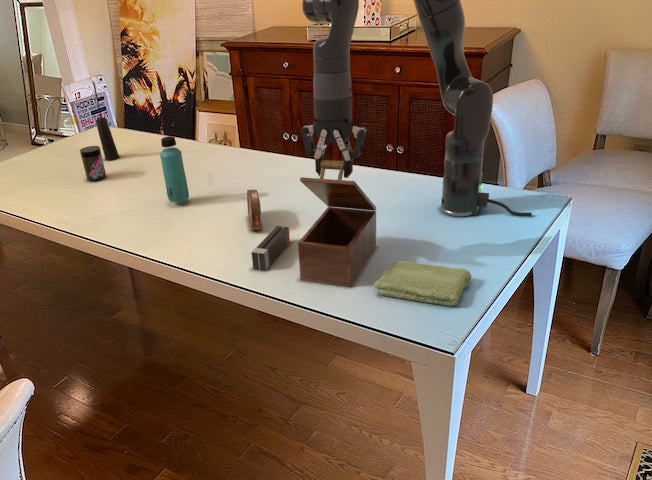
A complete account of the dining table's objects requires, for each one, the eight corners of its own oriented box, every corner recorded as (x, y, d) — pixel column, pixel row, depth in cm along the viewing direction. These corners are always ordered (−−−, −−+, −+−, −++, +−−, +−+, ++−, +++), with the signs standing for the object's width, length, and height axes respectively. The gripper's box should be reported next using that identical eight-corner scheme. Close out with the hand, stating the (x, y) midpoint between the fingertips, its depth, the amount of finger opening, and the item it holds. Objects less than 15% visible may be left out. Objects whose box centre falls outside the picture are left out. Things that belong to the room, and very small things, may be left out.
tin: (247, 213, 175) (244, 185, 170) (258, 211, 175) (255, 183, 170) (252, 236, 162) (248, 206, 158) (263, 234, 162) (260, 204, 158)
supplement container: (86, 183, 209) (79, 153, 204) (87, 177, 215) (79, 147, 210) (106, 180, 210) (99, 150, 205) (106, 173, 216) (100, 144, 210)
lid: (353, 184, 126) (358, 158, 126) (299, 180, 131) (304, 156, 131) (375, 210, 145) (379, 188, 145) (327, 206, 150) (331, 184, 150)
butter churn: (97, 156, 234) (79, 79, 220) (122, 151, 236) (106, 75, 221) (98, 163, 227) (79, 84, 212) (124, 159, 228) (107, 80, 214)
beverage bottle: (194, 199, 187) (183, 134, 177) (183, 208, 182) (171, 141, 172) (175, 198, 190) (164, 133, 180) (164, 206, 185) (151, 140, 175)
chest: (351, 287, 135) (350, 248, 130) (300, 280, 140) (297, 242, 135) (376, 246, 150) (376, 210, 145) (329, 241, 155) (328, 206, 150)
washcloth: (393, 267, 141) (393, 254, 139) (472, 280, 132) (474, 267, 131) (371, 295, 131) (371, 282, 130) (456, 311, 123) (457, 298, 121)
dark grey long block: (278, 241, 158) (276, 224, 155) (290, 242, 156) (288, 226, 154) (253, 269, 146) (251, 251, 144) (265, 270, 145) (264, 253, 143)
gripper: (291, 97, 124) (296, 179, 132) (361, 98, 118) (361, 184, 126) (305, 89, 130) (308, 168, 138) (372, 89, 124) (372, 172, 132)
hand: (334, 175), depth 132 cm, fingers closed on lid, 5 cm apart
